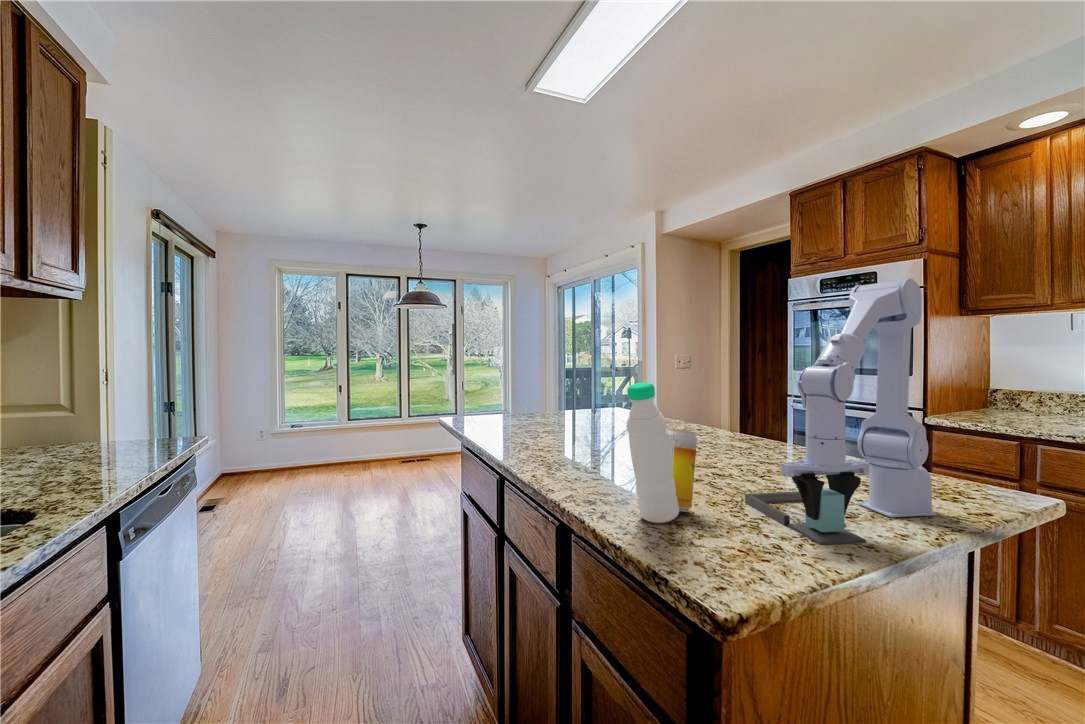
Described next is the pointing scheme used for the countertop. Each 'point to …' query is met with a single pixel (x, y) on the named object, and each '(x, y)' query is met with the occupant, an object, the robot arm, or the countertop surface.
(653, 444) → the water bottle
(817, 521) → the teal block
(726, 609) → the countertop surface
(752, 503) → the outer rail
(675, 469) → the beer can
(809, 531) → the rubber pad
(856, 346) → the robot arm
